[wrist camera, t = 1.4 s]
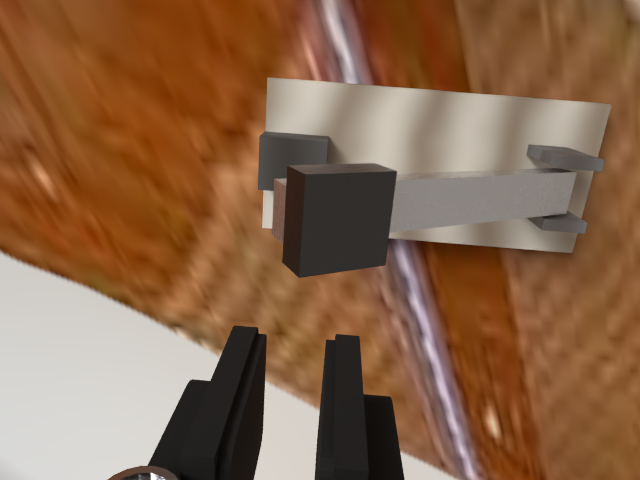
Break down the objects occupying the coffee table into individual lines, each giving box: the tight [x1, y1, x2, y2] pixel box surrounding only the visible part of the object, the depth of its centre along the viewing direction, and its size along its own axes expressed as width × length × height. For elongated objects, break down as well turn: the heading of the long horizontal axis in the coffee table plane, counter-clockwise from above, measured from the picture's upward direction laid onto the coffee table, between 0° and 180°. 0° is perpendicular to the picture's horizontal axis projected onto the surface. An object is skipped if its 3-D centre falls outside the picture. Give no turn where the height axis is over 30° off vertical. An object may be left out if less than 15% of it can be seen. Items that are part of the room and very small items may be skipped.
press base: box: [258, 77, 612, 253], centre depth 37 cm, size 26×12×8 cm, turn 86°
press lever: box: [272, 163, 577, 278], centre depth 29 cm, size 22×5×4 cm
